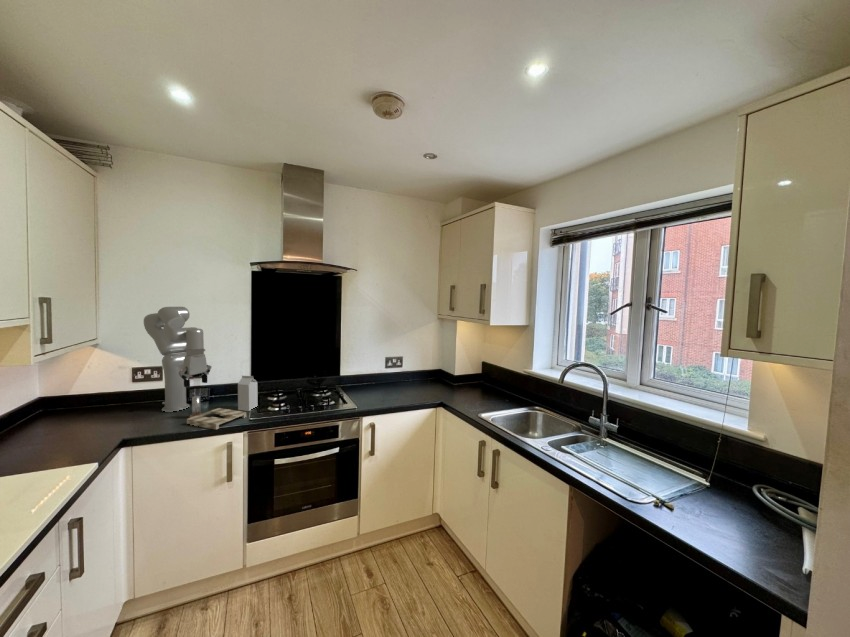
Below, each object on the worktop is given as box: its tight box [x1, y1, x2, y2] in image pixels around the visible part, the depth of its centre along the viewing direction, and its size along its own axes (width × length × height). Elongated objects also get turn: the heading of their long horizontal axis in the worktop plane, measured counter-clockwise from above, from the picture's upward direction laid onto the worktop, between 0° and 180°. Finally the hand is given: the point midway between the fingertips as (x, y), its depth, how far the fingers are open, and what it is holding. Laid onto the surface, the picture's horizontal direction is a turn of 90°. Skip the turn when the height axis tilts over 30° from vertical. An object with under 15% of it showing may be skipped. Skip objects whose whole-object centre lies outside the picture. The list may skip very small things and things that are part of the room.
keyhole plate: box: [186, 407, 247, 430], centre depth 173 cm, size 19×18×3 cm
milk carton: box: [237, 375, 259, 412], centre depth 192 cm, size 7×7×19 cm
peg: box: [189, 395, 204, 418], centre depth 177 cm, size 6×6×11 cm
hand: (196, 384), depth 177 cm, fingers open, 9 cm apart
